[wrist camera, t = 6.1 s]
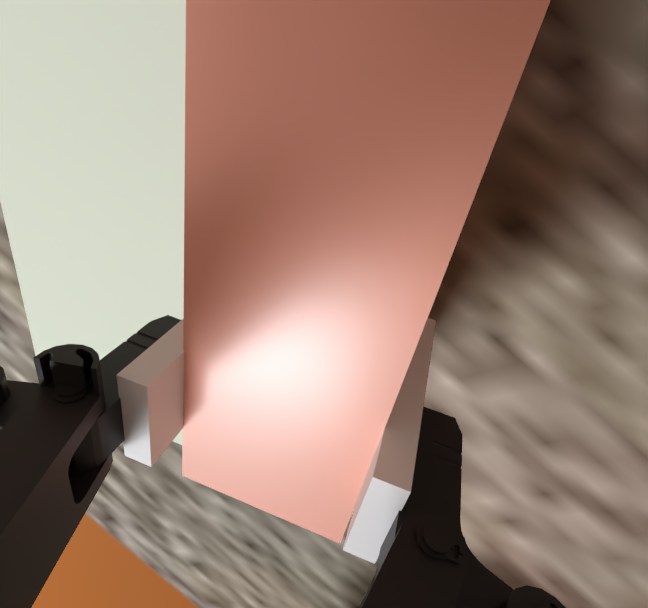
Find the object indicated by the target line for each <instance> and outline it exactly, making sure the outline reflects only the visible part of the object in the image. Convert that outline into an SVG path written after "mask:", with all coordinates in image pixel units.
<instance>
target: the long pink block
mask: <svg viewBox="0 0 648 608" xmlns="http://www.w3.org/2000/svg"><path fill="white" fill-rule="evenodd" d="M550 1H551V0H186V55H185V189H184V323H183V351H184V415H183V457H182V476H184V477H187V478H189V479H191V480H194V481H196V482H198V483H201V484H203V485H205V486H208V487H210V488H212V489H214V490H217V491H219V492H221V493H224V494H226V495H228V496H231V497H233V498H235V499H238V500H240V501H242V502H245V503H247V504H249V505H252V506H254V507H256V508H259V509H261V510H263V511H266V512H268V513H270V514H272V515H275V516H277V517H279V518H282V519H284V520H286V521H289V522H291V523H293V524H296V525H298V526H300V527H303V528H305V529H307V530H310V531H312V532H314V533H317V534H319V535H321V536H324V537H326V538H328V539H331V540H333V541H335V542H337V543H341V540H342V538H343V535H344V532H345V530H346V527H347V525H348V522H349V519H350V517H351V514H352V512H353V509H354V507H355V503H356V500H357V497H358V494H359V492H360V489H361V487H362V484H363V482H364V479H365V477H366V474H367V472H368V469H369V466H370V464H371V461H372V459H373V456H374V454H375V451H376V449H377V446H378V444H379V441H380V439H381V436H382V434H383V431H384V428H385V427H386V424H387V421H388V419H389V416H390V414H391V411H392V409H393V406H394V403H395V401H396V398H397V396H398V393H399V390H400V388H401V385H402V383H403V380H404V378H405V375H406V372H407V370H408V367H409V365H410V362H411V359H412V357H413V354H414V352H415V349H416V347H417V344H418V341H419V339H420V336H421V334H422V331H423V329H424V326H425V323H426V321H427V318H428V316H429V313H430V310H431V308H432V305H433V303H434V300H435V298H436V295H437V292H438V290H439V287H440V285H441V282H442V279H443V277H444V274H445V272H446V269H447V267H448V264H449V261H450V259H451V256H452V254H453V251H454V249H455V246H456V243H457V241H458V238H459V236H460V233H461V230H462V228H463V225H464V223H465V220H466V218H467V215H468V212H469V210H470V207H471V205H472V202H473V199H474V197H475V194H476V192H477V189H478V187H479V184H480V181H481V179H482V176H483V174H484V171H485V169H486V166H487V163H488V161H489V158H490V156H491V153H492V150H493V148H494V145H495V143H496V140H497V138H498V135H499V132H500V130H501V127H502V125H503V122H504V119H505V117H506V114H507V112H508V109H509V107H510V104H511V101H512V99H513V96H514V94H515V91H516V89H517V86H518V83H519V81H520V78H521V76H522V73H523V70H524V68H525V65H526V63H527V60H528V58H529V55H530V52H531V50H532V47H533V45H534V42H535V39H536V37H537V34H538V32H539V29H540V27H541V24H542V21H543V19H544V16H545V14H546V11H547V8H548V6H549V3H550Z"/></svg>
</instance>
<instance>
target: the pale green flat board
mask: <svg viewBox="0 0 648 608" xmlns="http://www.w3.org/2000/svg"><path fill="white" fill-rule="evenodd" d="M185 55H186V0H0V202H1V206H2V210H3V215H4V219H5V223H6V228H7V232H8V237H9V241H10V245H11V250H12V254H13V258H14V263H15V267H16V272H17V276H18V280H19V285H20V289H21V293H22V298H23V302H24V307H25V311H26V315H27V320H28V324H29V328H30V333H31V337H32V341H33V346H34V350H35V355H36V356H37V355H38V354H40V353H41V352H42V351H44V350H47V349H50V348H52V347H55V346H59V345H66V344H80V345H85V346H88V347H91V348H93V349H94V350H95V351H96V352H97V353H98V354H99V359H100V360H101V359H102V358H103V357H105V356H106V355H107V354H109V353H110V352H111V351H112V350H114V349H115V348H116V347H118V346H119V345H120V344H122V343H123V342H126V341H127V339H128V338H129V337H131V336H132V335H133V334H135V333H136V334H137V331H139V330H140V329H141V328H142V327H144V326H145V325H146V324H148V323H149V322H150V321H153V320H156V319H158V318H161V317H164V316H166V315H169V316H172V317H175V318H177V319H180V320H182V319H183V318H184V189H185ZM173 442H176V443H178V444H181V445H183V429H182V430H181V431H180V432H179V434H178V435H177V436H176V437H175V438H174V440H173Z"/></svg>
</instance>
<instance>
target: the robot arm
mask: <svg viewBox="0 0 648 608" xmlns="http://www.w3.org/2000/svg"><path fill="white" fill-rule="evenodd" d="M183 323H184V318H183V319H182V320H180V319H177V318H175V317H172V316H169V315H166V316H164V317H161V318H158V319H156V320H153V321H150V322H149V323H148V324H146V325H145V326H144V327H142V328H141V329H140V330H139V331H137V334H136V333H135V334H133V335H132V336H131V337H129V338H128V339H127V341H126V342H123V343H122V344H120V345H119V346H118V347H116V348H115V349H114V350H112V351H111V352H110V353H109V354H107V355H106V356H105V357H103V358H102V359H101V360H100V359H99V354H98V353H97V352H96V351H95V350H94V349H93V348H91V347H88V346H85V345H80V344H66V345H59V346H55V347H52V348H50V349H47V350H44V351H42V352H41V353H40V354H38V355H37V356H35V357H34V363H35V367H36V371H37V375H38V379H39V383H40V384H38V383H28V382H19V381H9V380H6V376H5V373H4V370H3V368H2V367H0V608H31V607H32V605H33V603H34V602H35V600H36V598H37V596H38V595H39V593H40V591H41V589H42V588H43V586H44V584H45V582H46V580H47V579H48V577H49V575H50V573H51V572H52V570H53V568H54V567H55V565H56V563H57V561H58V560H59V557H60V556H61V554H62V552H63V551H64V549H65V547H66V545H67V543H68V542H69V540H70V538H71V537H72V535H73V533H74V531H75V530H76V528H77V526H78V524H79V522H80V521H81V519H82V517H83V516H84V514H85V512H86V510H87V509H88V507H89V505H90V503H91V502H92V500H93V498H94V496H95V495H96V493H97V491H98V489H99V488H100V486H101V484H102V482H103V480H104V479H105V477H106V475H107V473H108V472H109V470H110V467H111V464H112V461H113V459H112V452H113V451H114V450H115V449H116V448H117V447H118V446H119V445H120V444H121V443H122V442H124V452H125V456H127V457H129V458H132V459H134V460H136V461H139V462H141V463H143V464H146V465H148V466H150V467H152V465H153V464H154V463H155V462H156V460H157V459H158V458H159V457H160V456H161V454H162V453H163V452H164V451H165V449H166V448H167V447H168V446H169V445H170V443H171V442H172V441H173V440H174V438H175V437H176V436H177V435H178V434H179V432H180V431H181V430H182V429H183V415H184V351H183ZM435 324H436V320H433V319H430V318H427V321H426V323H425V326H424V329H423V331H422V334H421V336H420V339H419V341H418V344H417V347H416V349H415V352H414V354H413V357H412V359H411V362H410V365H409V367H408V370H407V372H406V375H405V378H404V380H403V383H402V385H401V388H400V390H399V393H398V396H397V398H396V401H395V403H394V406H393V409H392V411H391V414H390V416H389V419H388V421H387V424H386V427H385V428H384V431H383V434H382V436H381V439H380V441H379V444H378V446H377V449H376V451H375V454H374V456H373V459H372V461H371V464H370V466H369V469H368V472H367V474H366V477H365V479H364V482H363V484H362V487H361V489H360V492H359V494H358V497H357V500H356V503H355V507H354V511H353V514H352V518H351V522H350V525H349V529H348V533H347V536H346V540H345V544H344V547H343V550H344V551H346V552H348V553H351V554H353V555H355V556H358V557H360V558H362V559H365V560H367V561H369V562H371V563H374V564H375V562H376V560H377V558H378V556H379V558H378V564H377V569H376V574H375V577H374V579H373V581H372V582H371V584H370V586H369V588H368V590H367V592H366V594H365V596H364V598H363V600H362V603H361V605H360V607H359V608H565V607H564V606H563V605H562V604H561V603H560V602H559V601H558V600H557V599H556V598H555V597H554V596H552V595H550V594H549V593H547V592H545V591H544V590H542V589H540V588H536V587H531V586H523V587H520V588H516V589H515V590H514V589H512V588H511V587H510V586H508V585H507V584H506V583H504V582H503V581H502V580H501V579H499V578H498V577H497V576H495V575H494V574H493V573H492V572H490V571H489V570H488V569H487V568H485V567H484V566H483V565H482V564H481V563H480V562H479V561H478V560H477V559H476V557H475V556H474V555H473V554H472V552H471V551H470V549H469V548H468V546H467V544H466V541H465V538H464V537H463V534H462V531H461V525H460V505H461V466H462V455H461V453H462V433H461V431H460V429H459V426H458V424H457V422H456V419H455V418H453V417H451V416H448V415H445V414H442V413H440V412H437V411H434V410H431V409H429V408H426V407H423V406H424V399H425V392H426V385H427V378H428V372H429V365H430V358H431V351H432V344H433V337H434V330H435Z"/></svg>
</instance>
